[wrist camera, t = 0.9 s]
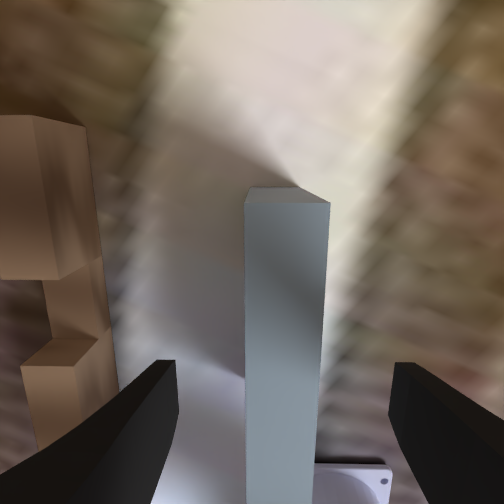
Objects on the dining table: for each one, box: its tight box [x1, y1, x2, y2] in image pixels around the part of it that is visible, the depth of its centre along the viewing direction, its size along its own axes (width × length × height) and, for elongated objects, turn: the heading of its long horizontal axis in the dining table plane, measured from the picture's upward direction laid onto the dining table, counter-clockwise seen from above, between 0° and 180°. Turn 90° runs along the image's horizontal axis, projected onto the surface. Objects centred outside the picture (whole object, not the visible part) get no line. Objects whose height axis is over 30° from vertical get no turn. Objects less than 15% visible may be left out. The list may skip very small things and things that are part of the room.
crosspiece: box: [244, 187, 330, 504], centre depth 15 cm, size 12×3×8 cm, turn 0°
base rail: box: [0, 115, 119, 451], centre depth 17 cm, size 18×3×4 cm, turn 0°
